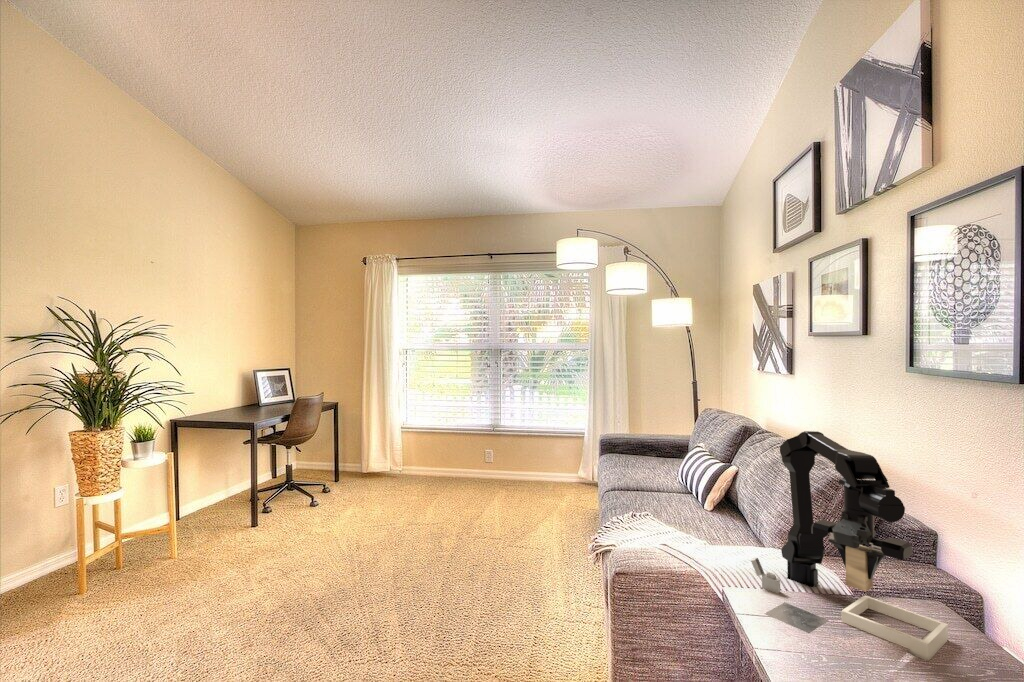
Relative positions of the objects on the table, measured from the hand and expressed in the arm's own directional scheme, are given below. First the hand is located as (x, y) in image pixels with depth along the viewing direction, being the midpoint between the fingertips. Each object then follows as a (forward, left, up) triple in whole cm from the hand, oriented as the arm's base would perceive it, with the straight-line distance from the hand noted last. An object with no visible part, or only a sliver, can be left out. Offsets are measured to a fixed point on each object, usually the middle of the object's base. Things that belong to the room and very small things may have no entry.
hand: (859, 575), depth 113 cm
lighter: (-22, 0, -13) cm, 25 cm away
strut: (0, 0, -2) cm, 2 cm away
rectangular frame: (+5, +5, -12) cm, 14 cm away
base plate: (-10, -9, -12) cm, 18 cm away
